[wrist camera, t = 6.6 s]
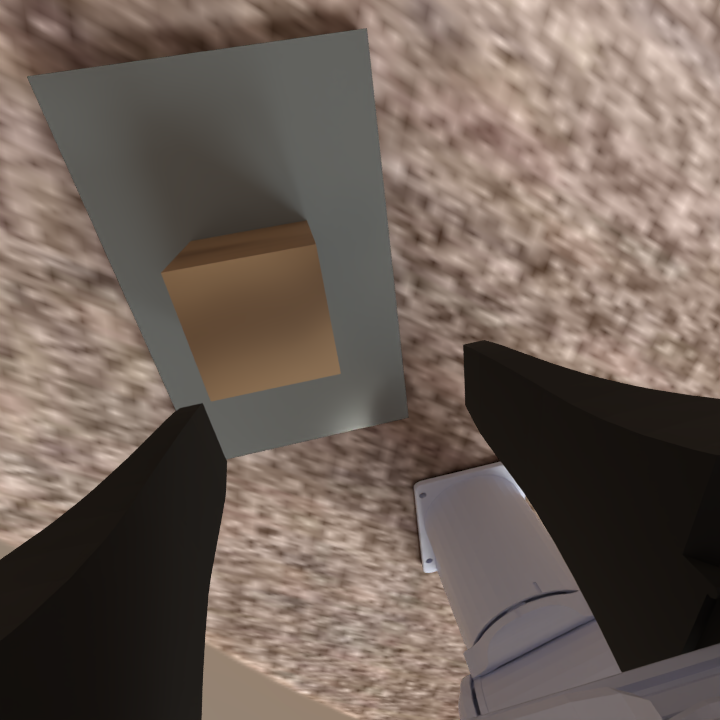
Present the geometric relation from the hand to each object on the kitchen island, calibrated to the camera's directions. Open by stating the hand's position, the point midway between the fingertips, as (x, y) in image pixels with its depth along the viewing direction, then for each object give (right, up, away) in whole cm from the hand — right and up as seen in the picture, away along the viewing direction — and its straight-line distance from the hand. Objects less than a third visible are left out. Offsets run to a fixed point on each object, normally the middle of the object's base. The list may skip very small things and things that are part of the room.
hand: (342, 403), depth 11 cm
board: (-4, +5, +8) cm, 11 cm away
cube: (-4, +5, +7) cm, 10 cm away
